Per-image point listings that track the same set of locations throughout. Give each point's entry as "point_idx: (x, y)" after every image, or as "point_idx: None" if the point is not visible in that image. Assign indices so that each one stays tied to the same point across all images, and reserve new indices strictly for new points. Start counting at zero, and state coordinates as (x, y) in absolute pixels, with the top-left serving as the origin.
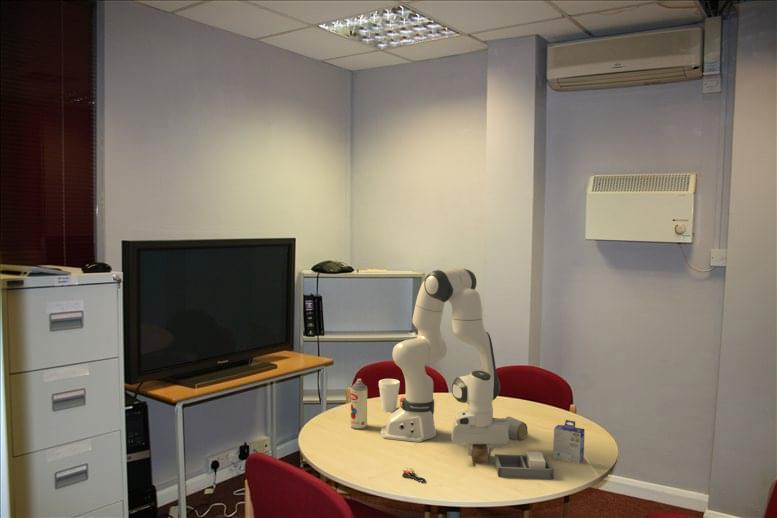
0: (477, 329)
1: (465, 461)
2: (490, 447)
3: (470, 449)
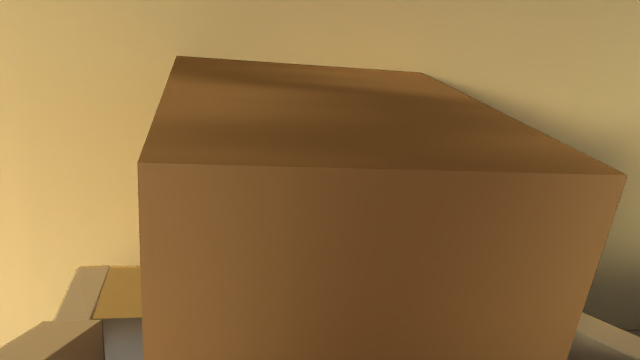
0: None
1: (56, 260)
2: (589, 358)
3: (111, 324)
